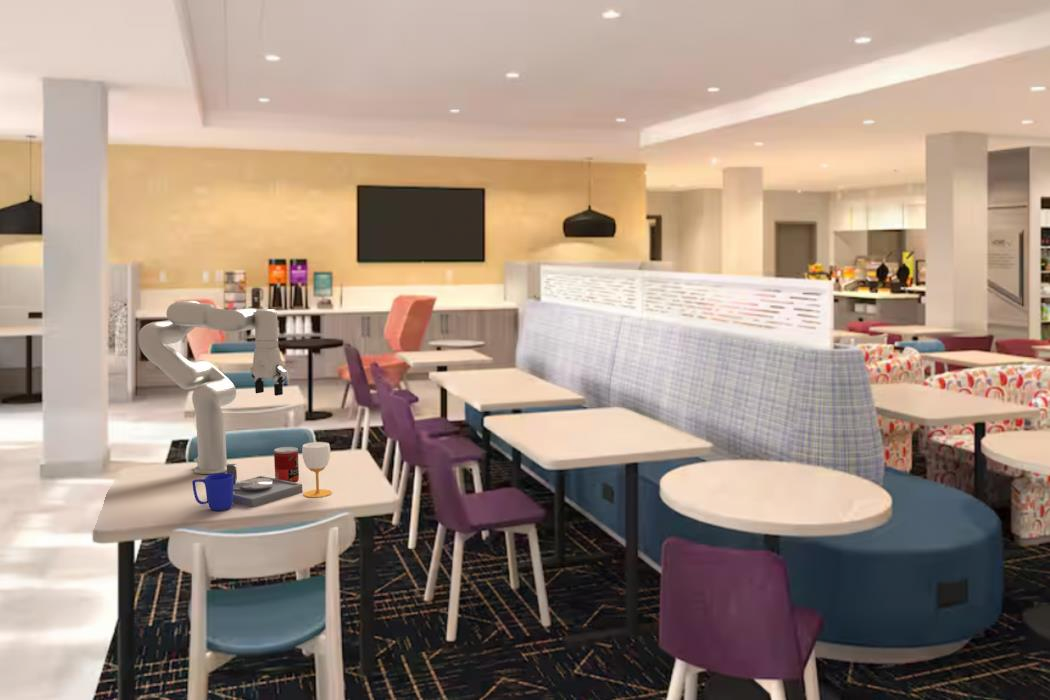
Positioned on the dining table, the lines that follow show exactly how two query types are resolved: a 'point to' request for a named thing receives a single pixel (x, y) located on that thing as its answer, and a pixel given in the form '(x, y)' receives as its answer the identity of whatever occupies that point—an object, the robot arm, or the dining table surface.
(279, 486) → the tray
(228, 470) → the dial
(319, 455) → the cup
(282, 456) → the canned food
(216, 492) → the mug
